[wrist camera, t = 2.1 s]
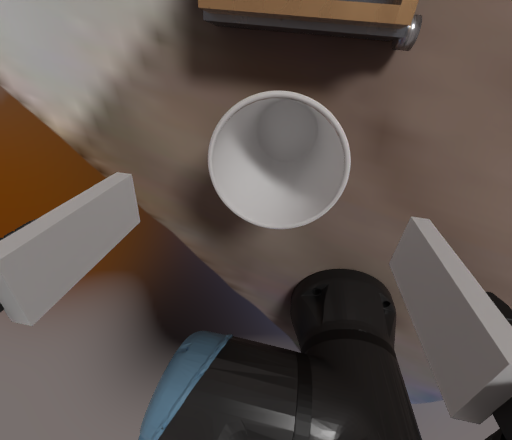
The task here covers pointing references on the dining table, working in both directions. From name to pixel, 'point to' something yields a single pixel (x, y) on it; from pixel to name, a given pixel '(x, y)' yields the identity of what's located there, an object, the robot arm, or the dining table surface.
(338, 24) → the square wooden box
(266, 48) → the dining table surface
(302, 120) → the coffee cup
